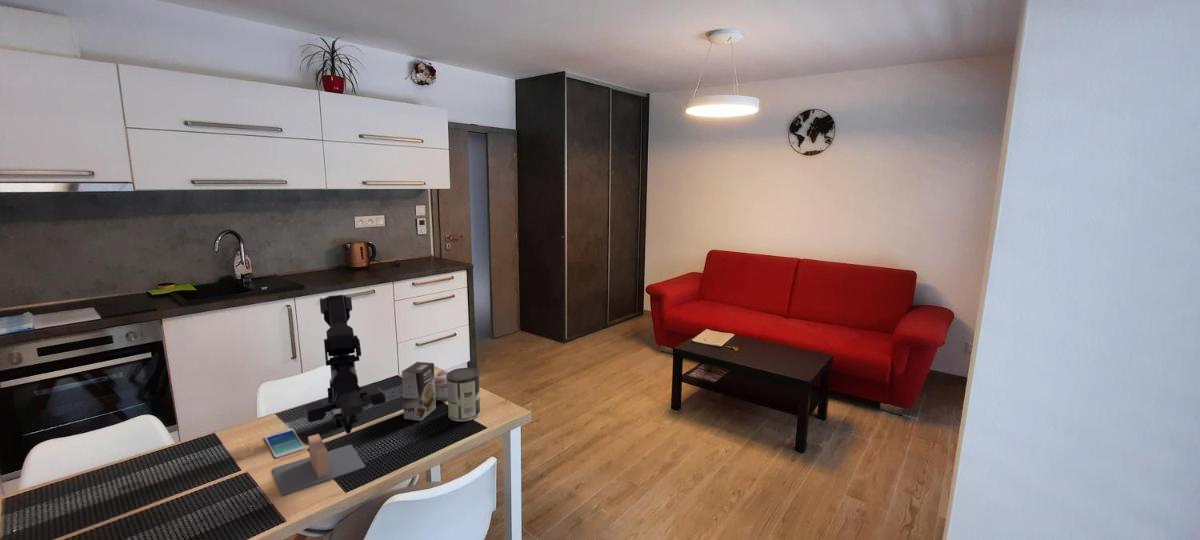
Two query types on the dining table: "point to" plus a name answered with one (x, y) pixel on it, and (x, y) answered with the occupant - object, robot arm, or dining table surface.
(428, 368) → the coffee box
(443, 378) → the cupcake
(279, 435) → the smartphone
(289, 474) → the mat
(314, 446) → the block
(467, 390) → the coffee can
